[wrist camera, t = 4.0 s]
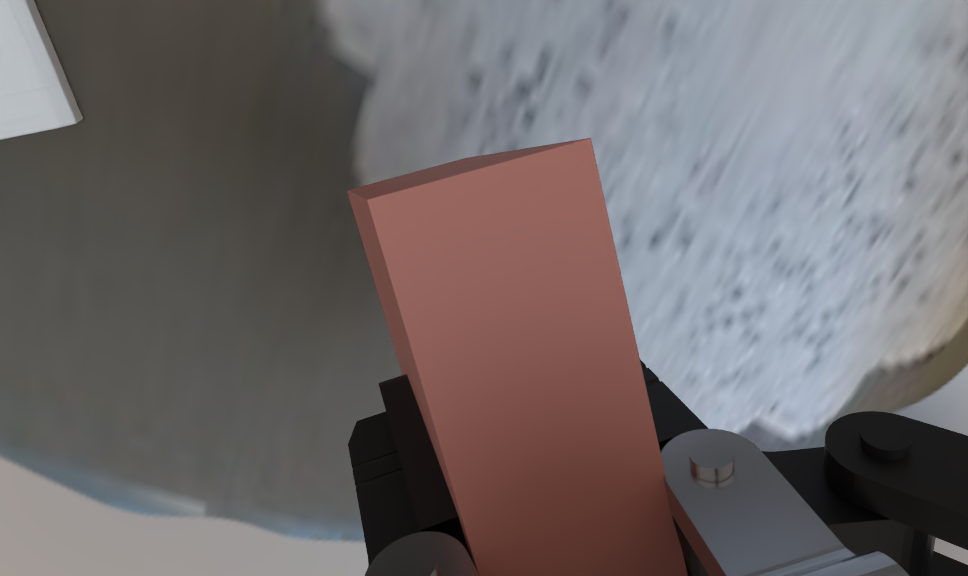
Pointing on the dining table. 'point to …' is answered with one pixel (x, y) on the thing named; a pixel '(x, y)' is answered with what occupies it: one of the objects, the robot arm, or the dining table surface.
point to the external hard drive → (31, 75)
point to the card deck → (524, 360)
